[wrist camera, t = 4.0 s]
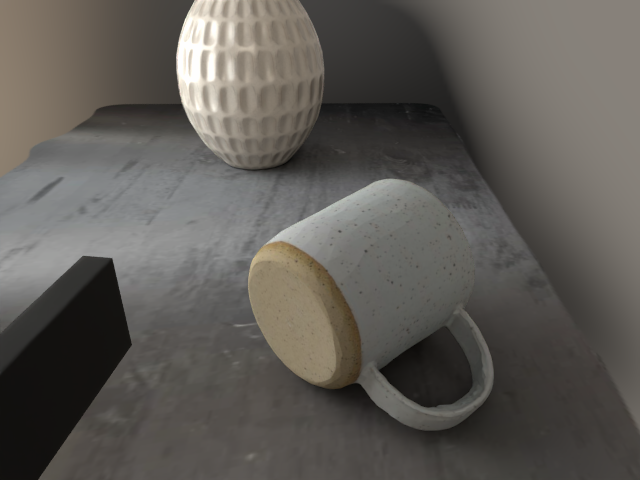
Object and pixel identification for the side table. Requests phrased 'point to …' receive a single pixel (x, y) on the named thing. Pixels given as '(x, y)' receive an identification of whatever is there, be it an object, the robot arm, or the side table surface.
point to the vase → (250, 78)
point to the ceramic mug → (371, 295)
